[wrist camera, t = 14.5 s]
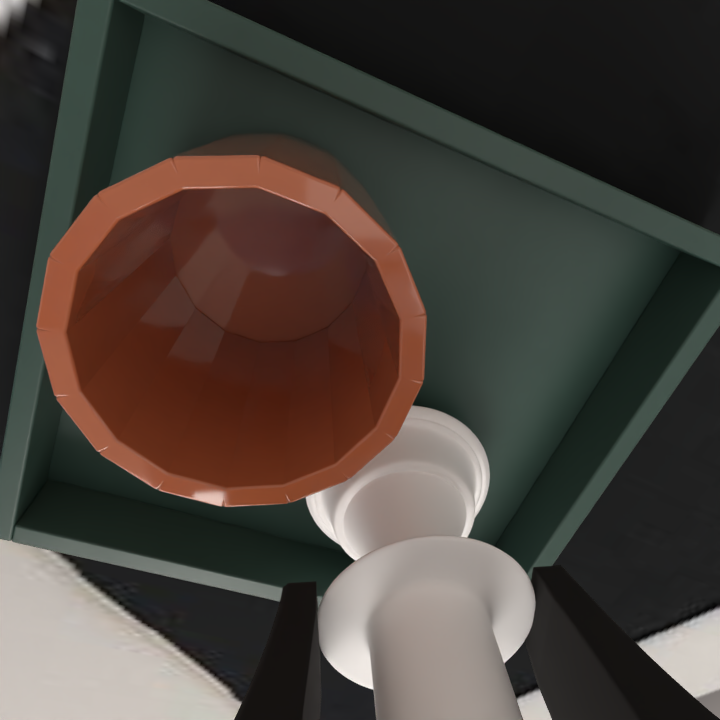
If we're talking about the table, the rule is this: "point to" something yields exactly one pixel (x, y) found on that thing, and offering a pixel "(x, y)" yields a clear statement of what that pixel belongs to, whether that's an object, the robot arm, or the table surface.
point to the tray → (429, 270)
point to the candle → (423, 580)
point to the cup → (235, 323)
